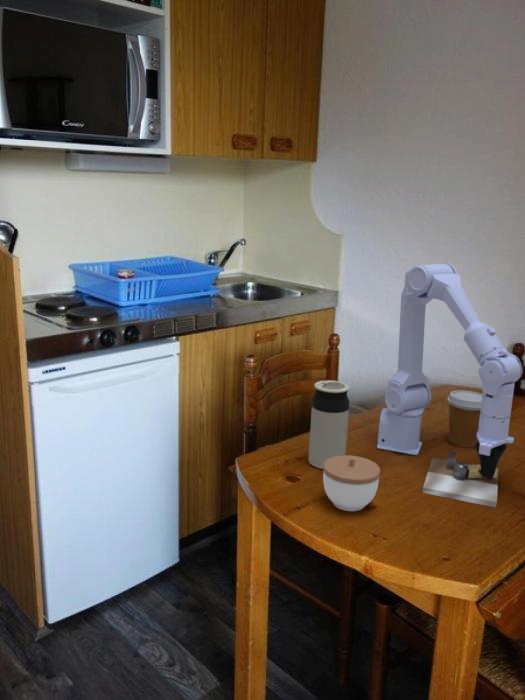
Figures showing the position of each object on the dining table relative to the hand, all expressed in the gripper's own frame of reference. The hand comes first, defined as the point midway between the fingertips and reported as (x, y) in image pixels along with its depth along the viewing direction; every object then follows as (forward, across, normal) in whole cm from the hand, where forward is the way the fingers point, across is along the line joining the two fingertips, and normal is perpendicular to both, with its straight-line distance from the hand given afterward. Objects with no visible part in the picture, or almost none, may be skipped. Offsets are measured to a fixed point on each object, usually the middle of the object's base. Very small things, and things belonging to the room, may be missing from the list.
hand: (487, 476), depth 128 cm
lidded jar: (+3, -23, +21) cm, 31 cm away
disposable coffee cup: (+2, +22, +10) cm, 24 cm away
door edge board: (+2, -2, +5) cm, 6 cm away
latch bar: (+1, 0, +3) cm, 3 cm away
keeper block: (+1, +4, +8) cm, 9 cm away
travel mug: (+2, -9, +32) cm, 34 cm away
